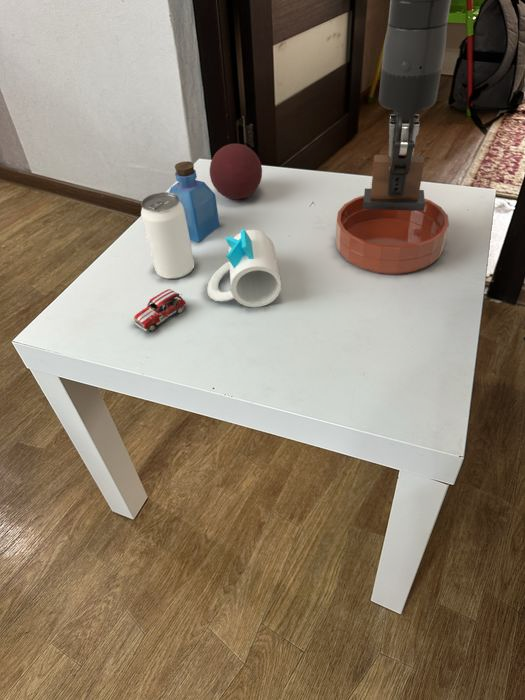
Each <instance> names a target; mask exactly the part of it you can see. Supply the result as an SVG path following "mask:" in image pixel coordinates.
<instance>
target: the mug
mask: <svg viewBox="0 0 525 700" xmlns="http://www.w3.org/2000/svg"><path fill="white" fill-rule="evenodd" d="M224 240H225V241H226V243H227V244H228V250H227V251H228V252H227V254H226V258H227V261H226V262H225V263H223V264H222V265H221V266H220V267H219V268H218V269H216V270H215V272H214V273H213V275H212V276H210V279H209V281H208V283H207V288H206V292H207V296H208V297H209V298H210V299H211V300H213V301H214V302H222V303H223V302H229V301H231V300H236V302H237V303H238V304H241V305H242V306H245V307H250V308H261V307H263V306H268V305H269V304H271V303H272V302H274V301H275V300H276V299H277V297H278V296H279V295H280V293H281V290H282V281H281V277H280V271H279V266H278V265H279V264H278V260H277V255H276V249H275V246H274V243H273V240H272V239H271V238H270V237H269V236H268V235H267V234H266V233H264V232H263V231H261V230H257V229H245V228H242V229H241V230H240V232H239V233H237V234H236V235H235V236H234V237H231V236H227V237H225V238H224ZM227 273H229V281H230V282H229V283H230V290H228V291H222V290H220V289H219V285H220V282H221V280H222V279H223V277H224V276H225V275H226V274H227Z"/></svg>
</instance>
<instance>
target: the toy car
mask: <svg viewBox="0 0 525 700" xmlns="http://www.w3.org/2000/svg"><path fill="white" fill-rule="evenodd" d="M182 296H183V294H182V293H181V294H180V293H178V292H176V291H175V290H173V289H171V288H169V289H166V290H163V291H161V292H160V293H158V294H157V295H155V296H153V297H152V298H150V299H149V301H148V303H147V304H146V307H145V308H143V309H142V310H140V311H138V312H137V313H136V314H135V315H134V317H133V319H134V324H135V325H136V326H137V327H138V328H139V329H141V330H144V331H146V332H147V331H148V333H151V332H156V331H155V330H156V326H159V325H161V324H162V323H163V322H165V320H166V319H168V318H170V317H171V316H173V315H175V314H177V315H180V314H182V313H183V312H184V307H185V306H187V302H186V300H185V299H184V298H183V297H182Z"/></svg>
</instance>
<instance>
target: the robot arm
mask: <svg viewBox="0 0 525 700" xmlns="http://www.w3.org/2000/svg"><path fill="white" fill-rule="evenodd" d="M451 4H452V0H389V7H388V17H387V27H386V33H385V38H384V42H383V48H382V58H381V59H382V60H381V71H380V81H379V89H378V90H379V92H378V93H379V94H378V102H379V104H380V105H381V107H383V108H384V109H386V110H389V111H392V110H393V113H392V114H389V120H388V155H389V156H390V157H391V165H390V167H389V170H390V179H389V187H388V195H389V196H390V197H401V196H402V195H403V191H404V184H405V177H406V174H408V172H409V171H410V168H409V167H410V162H411V157H412V156H414V154H415V146H416V140H417V136H418V135H419V132H420V124H421V122H420V121H419V120H420V114H418V113H417V112H419V111H425V110H428V109H430V108H431V107H433V106H434V105H435V104H436V102H437V100H438V99H437V98H438V93H439V88H440V82H441V75H442V70H443V63H444V59H445V51H446V47H447V29H448V21H449V14H450V9H451ZM416 113H417V114H416Z"/></svg>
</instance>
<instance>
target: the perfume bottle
mask: <svg viewBox="0 0 525 700" xmlns="http://www.w3.org/2000/svg"><path fill="white" fill-rule="evenodd" d="M174 169H175V173H174V174H175V181H176V182H177V183H175V184H174V185H172V186H171V187H170V189H169V191H168V192H169V193H174V194H176V195H177V196H178V197H179V201H180V202H181V204H182V205H183V208H184V212H185V217H186V222H187V227H188V232H189V237H190V241H192V242H196V243H200V242H201V241H203V240H204V239H205V238H207V237H208V236H209V235H210V234H212V233H213V232H214V231H216V230H217V229H218V228H219V227H221V225H220V219H219V212H218V204H217V198H216V197H217V196H216V193H215V192H214V191H213V190H212V189H211V188H210V187H209V186H208V184H207V183H206V182H205V181H202V180H198V179H197V177H198V176H197V171H196V169H195V165H194V162H192V161H188V160H187V161H180V162H177V163H176V164H175V165H174Z"/></svg>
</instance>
